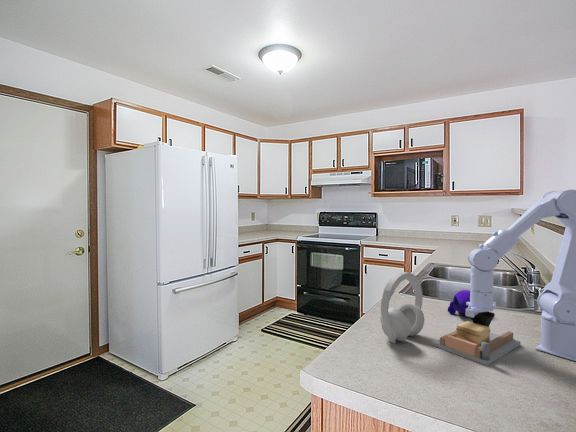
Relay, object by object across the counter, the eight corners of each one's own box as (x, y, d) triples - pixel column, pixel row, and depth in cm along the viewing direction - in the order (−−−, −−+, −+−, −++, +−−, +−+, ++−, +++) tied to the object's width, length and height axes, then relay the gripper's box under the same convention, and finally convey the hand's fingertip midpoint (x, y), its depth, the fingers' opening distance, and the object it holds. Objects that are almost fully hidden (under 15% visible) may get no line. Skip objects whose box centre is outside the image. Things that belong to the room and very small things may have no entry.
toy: (469, 325, 110) (483, 310, 120) (468, 298, 109) (482, 286, 119) (443, 318, 116) (458, 305, 126) (442, 293, 115) (457, 282, 125)
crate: (490, 344, 89) (490, 327, 88) (479, 350, 85) (479, 332, 85) (467, 337, 94) (467, 320, 94) (456, 342, 90) (456, 325, 90)
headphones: (395, 351, 87) (396, 279, 87) (371, 341, 94) (371, 274, 93) (431, 334, 99) (432, 270, 98) (407, 326, 105) (408, 266, 105)
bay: (520, 344, 91) (520, 327, 91) (487, 365, 79) (487, 345, 79) (469, 329, 103) (469, 314, 102) (433, 345, 90) (433, 328, 90)
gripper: (478, 284, 99) (478, 327, 99) (454, 291, 91) (454, 337, 91) (504, 288, 93) (503, 334, 94) (481, 296, 85) (480, 346, 85)
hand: (480, 336), depth 92 cm, fingers closed
